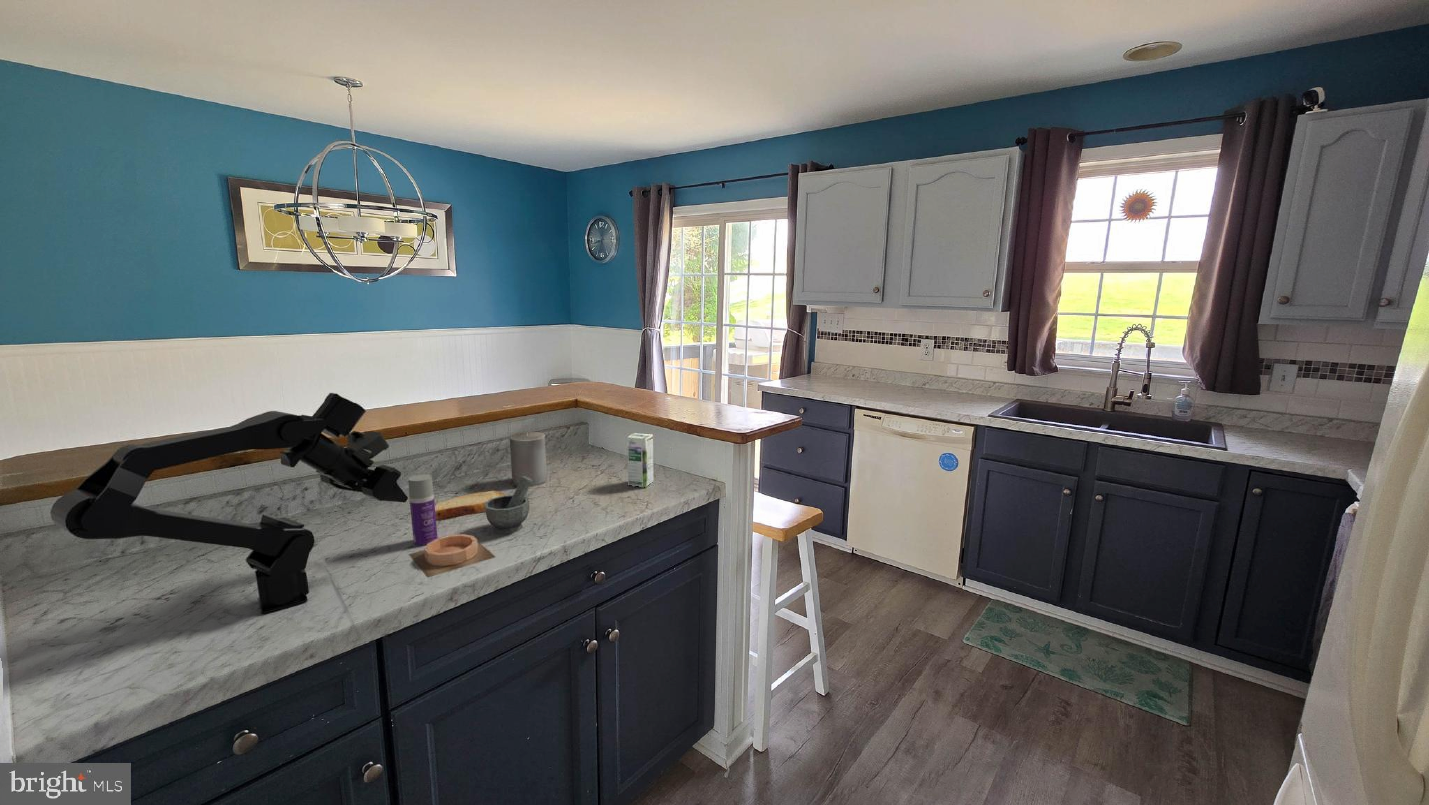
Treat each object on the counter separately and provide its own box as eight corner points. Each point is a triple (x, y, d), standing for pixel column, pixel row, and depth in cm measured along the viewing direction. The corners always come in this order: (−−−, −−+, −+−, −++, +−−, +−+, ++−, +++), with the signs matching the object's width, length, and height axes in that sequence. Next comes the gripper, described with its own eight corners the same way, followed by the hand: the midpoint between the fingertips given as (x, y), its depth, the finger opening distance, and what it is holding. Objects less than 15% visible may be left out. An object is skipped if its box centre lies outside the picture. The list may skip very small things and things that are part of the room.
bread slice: (412, 521, 138) (411, 506, 137) (461, 496, 155) (460, 483, 154) (478, 529, 133) (476, 513, 133) (521, 502, 151) (520, 488, 150)
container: (428, 549, 122) (421, 481, 119) (409, 547, 123) (402, 480, 120) (442, 540, 127) (436, 475, 124) (424, 538, 128) (417, 473, 125)
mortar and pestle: (496, 543, 125) (492, 490, 123) (479, 530, 132) (475, 480, 130) (543, 528, 133) (541, 479, 131) (525, 517, 139) (522, 470, 137)
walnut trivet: (428, 579, 109) (427, 577, 109) (409, 556, 119) (409, 554, 118) (495, 559, 118) (495, 556, 117) (473, 539, 127) (473, 537, 127)
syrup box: (627, 486, 162) (626, 436, 160) (636, 480, 168) (635, 431, 165) (646, 488, 161) (645, 438, 158) (654, 481, 166) (653, 433, 164)
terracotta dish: (434, 571, 111) (433, 559, 111) (420, 554, 118) (419, 543, 118) (484, 556, 118) (483, 545, 117) (467, 541, 125) (467, 530, 124)
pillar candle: (512, 477, 169) (509, 428, 166) (547, 474, 172) (544, 426, 169) (511, 488, 160) (508, 437, 157) (548, 485, 163) (545, 434, 160)
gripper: (385, 427, 105) (444, 469, 116) (329, 416, 114) (389, 456, 125) (346, 480, 100) (411, 518, 111) (290, 464, 109) (356, 501, 120)
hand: (392, 496), depth 117 cm, fingers open, 9 cm apart
